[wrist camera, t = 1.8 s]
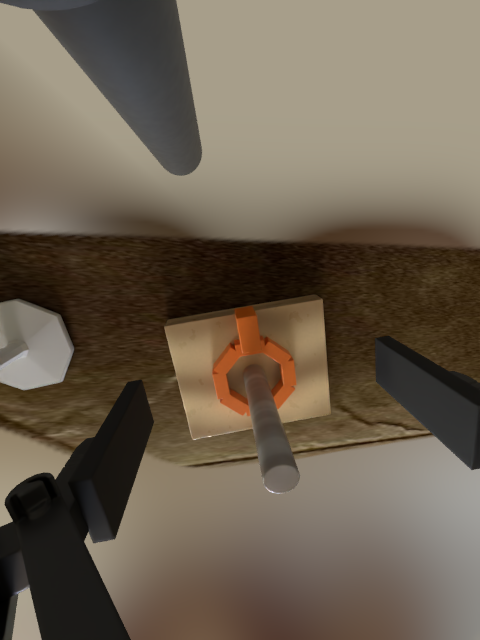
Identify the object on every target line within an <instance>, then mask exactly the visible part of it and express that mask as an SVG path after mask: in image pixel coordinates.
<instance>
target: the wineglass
mask: <svg viewBox="0 0 480 640" xmlns="http://www.w3.org/2000/svg"><path fill="white" fill-rule="evenodd" d="M73 352H74V346H73V344H72V341H71V339H70V337H69V334H68V332H67V329H66V327H65V325H64V322H63V320H62V317H61V315H60V314H58V313H55V312H53V311H50V310H48V309H45V308H43V307H40V306H38V305H35V304H32V303H30V302H27V301H25V300H22V299H14V300H9V301H5V302H0V382H1V383H4V384H7V385H10V386H13V387H16V388H19V389H22V390H27V389H32V388H36V387H41V386H45V385H50V384H55V383H59V382H62V381H63V379H64V377H65V374H66V371H67V368H68V366H69V363H70V360H71V357H72V354H73Z"/></svg>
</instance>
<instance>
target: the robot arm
mask: <svg viewBox="0 0 480 640" xmlns="http://www.w3.org/2000/svg"><path fill="white" fill-rule="evenodd" d="M375 353H376V382H377V383H378V384H379V385H380V386H381V387H382V388H384V389H385V390H386V391H387V392H388V393H389V394H390V395H391V396H392V397H393V398H394V399H395V400H396V401H398V402H399V403H400V404H401V405H402V406H403V407H404V408H405V409H406V410H407V411H408V412H409V413H411V414H412V415H413V416H414V417H415V418H416V419H417V420H418V421H419V422H420V423H421V424H422V425H424V426H425V427H426V428H427V429H428V430H429V431H430V432H431V433H432V434H433V435H434V436H435V437H437V438H438V439H439V440H440V441H441V442H442V443H443V444H444V445H445V446H446V447H447V448H449V449H450V450H451V451H452V452H453V453H454V454H455V455H456V456H457V457H458V458H459V459H460V460H461V461H463V462H464V463H465V464H466V465H467V466H468V467H469V468H470V469H471V470H474V469H479V468H480V383H478V382H477V381H476V380H474V379H472V378H470V377H468V376H467V375H464V374H461V373H458V372H455V371H450V372H449V371H447V370H446V369H444V368H442V367H440V366H439V365H437V364H435V363H434V362H432V361H430V360H429V359H427V358H425V357H424V356H422V355H420V354H418V353H417V352H415V351H413V350H412V349H410V348H408V347H407V346H405V345H403V344H402V343H400V342H398V341H396V340H395V339H393V338H391V337H390V336H385V337H379V338H375ZM153 423H154V420H153V417H152V414H151V410H150V407H149V403H148V400H147V396H146V393H145V389H144V386H143V382H142V380H137V381H131V382H128V383H127V384H126V386H125V388H124V389H123V391H122V393H121V394H120V396H119V398H118V399H117V401H116V403H115V404H114V406H113V408H112V409H111V411H110V413H109V414H108V416H107V418H106V419H105V421H104V423H103V424H102V426H101V428H100V429H99V431H98V433H97V434H96V436H95V437H93V438H87V439H86V440H84V441H83V442H82V443H81V444H80V445H79V446H78V447H77V448H76V449H75V451H74V452H73V454H72V455H71V457H70V459H69V460H68V461H67V463H66V464H65V467H63V469H62V471H61V472H60V473H59V475H58V477H57V478H56V480H55V479H54V477H53V475H52V474H50V473H41V474H36V475H34V476H32V477H30V478H28V479H26V480H24V481H23V482H21V483H20V484H18V485H17V486H16V487H15V488H14V489H13V490H12V491H11V492H10V493H9V494H8V496H7V497H6V499H5V506H6V508H7V510H8V512H9V514H10V516H11V518H12V519H13V522H11V523H8V524H6V525H4V526H1V527H0V640H12V634H13V627H14V620H15V613H16V606H17V599H18V593H20V592H22V591H24V590H25V589H28V588H30V591H31V595H32V600H33V604H34V608H35V613H36V617H37V621H38V625H39V630H40V634H41V638H42V640H131V639H130V637H129V635H128V633H127V631H126V629H125V627H124V624H123V622H122V620H121V618H120V616H119V614H118V612H117V610H116V608H115V606H114V604H113V602H112V599H111V597H110V595H109V593H108V591H107V589H106V587H105V585H104V583H103V581H102V578H101V576H100V574H99V572H98V570H97V568H96V566H95V564H94V562H93V560H92V557H91V555H90V554H89V551H88V549H87V547H86V545H85V543H84V540H85V538H86V536H87V533H88V532H89V534H90V536H91V539H92V541H93V543H97V542H102V541H108V540H113V539H115V538H116V535H117V532H118V529H119V526H120V523H121V520H122V517H123V514H124V510H125V508H126V505H127V502H128V499H129V495H130V493H131V490H132V487H133V484H134V481H135V478H136V474H137V472H138V468H139V466H140V462H141V460H142V457H143V454H144V451H145V448H146V445H147V442H148V439H149V435H150V432H151V429H152V426H153Z"/></svg>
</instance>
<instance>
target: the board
mask: <svg viewBox="0 0 480 640" xmlns="http://www.w3.org/2000/svg"><path fill="white" fill-rule="evenodd" d="M250 306H253V308H254V311H255V313H256V315H257V319H258V326H259V333H260V336H261V335H262V336H263V338H264V339H265V338H266V337H269V338H270V339H272V340H273V341H275V342H276V343H278V344H279V345H281V346H282V347H283V348H285V349H286V350H288V351H289V353H290V354H291V356H292V358H293V359H294V365H295V374H296V384H297V385H295V386H294V387H295V390H294V391H293V393H292V394H291V395H290V396H289V397H288V399H287V400H286V401H285V402H284V403H283V404H282V406H281V407H280V408H279V409H277V407H276V404H275V401H274V398H273V395H272V392H271V390H272V389H273V388H274V387H275V385H276V384H277V383H278V382H279V380H280V379H281V375H280V367H279V363H278V362H276V361H275V360H273V359H272V358H270V357H269V356H267V355H266V354H264V353H258V354H253V355H247V356H241V357H239V359H238V360H237V361H236V363H235V364H234V365H233V366H232V368H231V369H230V370H229V372H228V373H227V377H228V382H229V388H230V389H232V390H234V391H235V392H237V393H239V394H240V395H242V396H244V397H245V398H247V399H248V404H249V410H250V415H251V416H247V414H246V413H245V414H244V415H243V416H242V415H240V414H238V413H237V412H235V411H233V410H232V409H230V408H228V407H226V406H225V405H223V404H221V403H220V399H217V395H216V390H215V385H214V380H213V375H212V369H213V367H214V363H215V362H216V360H217V359H218V358H219V356H220V355H221V354H222V352H223V351H224V350H225V348H226V347H227V346H228V344H229V343H232V344H233V345H234V340H238V339H239V335H238V329H237V323H236V317H235V311H234V309H236V308H233V309H227V310H221V311H215V312H209V313H204V314H198V315H192V316H186V317H180V318H174V319H169V320H167V322H166V324H165V326H164V328H165V332H166V336H167V340H168V344H169V348H170V352H171V356H172V360H173V364H174V368H175V372H176V376H177V380H178V384H179V388H180V392H181V396H182V400H183V404H184V408H185V412H186V416H187V420H188V424H189V428H190V432H191V436H192V439H198V438H204V437H209V436H215V435H220V434H226V433H231V432H236V431H242V430H247V429H253V431H254V437H255V442H256V447H257V453H258V458H259V463H260V469H261V474H262V479H263V484H264V486H265V487H266V489H268V490H269V491H270V492H273V493H278V494H279V493H280V494H281V493H286V492H289V491H291V490H292V489H294V488H295V486H296V485H297V484H298V482H299V478H300V475H299V471H298V468H297V466H296V463H295V459H294V457H293V454H292V451H291V448H290V445H289V442H288V439H287V436H286V433H285V430H284V427H283V424H282V423H285V422H291V421H296V420H302V419H307V418H312V417H318V416H323V415H329V414H331V412H330V397H329V383H328V368H327V354H326V340H325V325H324V311H323V299H322V298H320V297H319V296H317V295H315V294H314V295H309V296H303V297H297V298H291V299H285V300H279V301H274V302H268V303H262V304H256V305H250ZM244 307H247V306H244ZM239 308H242V307H239Z"/></svg>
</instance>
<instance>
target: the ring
mask: <svg viewBox="0 0 480 640" xmlns="http://www.w3.org/2000/svg"><path fill="white" fill-rule="evenodd" d="M234 311H235V317H236V323H237V329H238V335H239V339H238V340H234V345H233V344H232V343H229V344H228V346H227V347H226V348H225V350H224V351H223V352H222V354H221V355H220V356H219V358H218V359H217V360H216V362H215V363H214V367H213V369H212V375H213V380H214V385H215V390H216V395H217V399H220V403H221V404H223V405H225V406H226V407H228V408H230V409H232V410H233V411H235V412H237V413H238V414H240V415H242V416H243V415H244V414H245V413H246V414H247V416H251V415H250V410H249V404H248V399H247V398H245V397H244V396H242V395H240V394H239V393H237V392H235V391H234V390H232V389H230V388H229V382H228V377H227V373H228V372H229V370H230V369H231V368H232V366H233V365H234V364H235V363H236V361H237V360H238V359H239V357H241V356H247V355H253V354H258V353H264V354H266V355H267V356H269V357H270V358H272V359H273V360H275V361H276V362H278V363H279V367H280V375H281V379H280V380H279V382H278V383H277V384H276V385H275V387H274V388H273V389H272V390H271V392H272V395H273V398H274V401H275V404H276V407H277V409H279V408H280V407H281V406H282V404H283V403H284V402H285V401H286V400H287V399H288V397H289V396H290V395H291V394H292V393H293V391H294V390H295V387H294V386H295V385H297V384H296V374H295V365H294V359H293V358H292V356H291V354H290V353H289V351H288V350H286V349H285V348H283V347H282V346H281V345H279V344H278V343H276V342H275V341H273V340H272V339H270V338H269V337H266V338H265V339H264V338H263V336H262V335H261V336H260V333H259V326H258V319H257V315H256V313H255V311H254V308H253V306H247V307H242V308H236V309H234Z"/></svg>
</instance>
